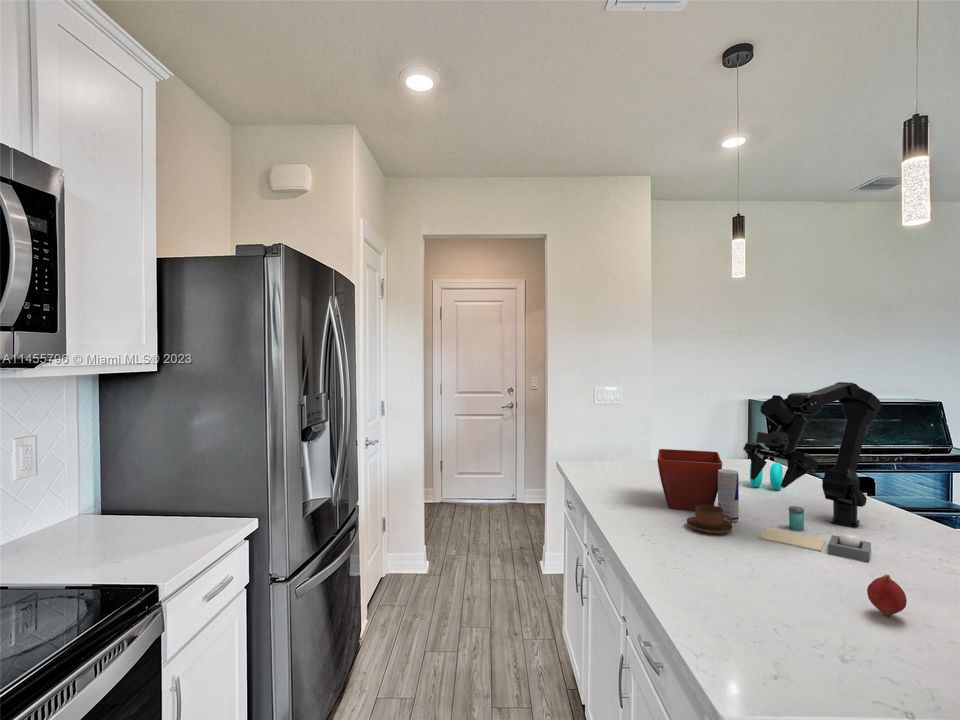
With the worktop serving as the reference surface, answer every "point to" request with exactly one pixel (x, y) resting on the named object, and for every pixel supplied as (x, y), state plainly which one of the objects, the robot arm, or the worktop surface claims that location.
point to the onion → (886, 595)
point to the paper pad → (793, 539)
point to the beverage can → (728, 493)
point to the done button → (850, 540)
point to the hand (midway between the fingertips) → (766, 483)
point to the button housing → (849, 549)
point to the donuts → (775, 477)
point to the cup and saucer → (710, 520)
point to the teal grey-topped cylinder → (796, 518)
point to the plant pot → (689, 477)
